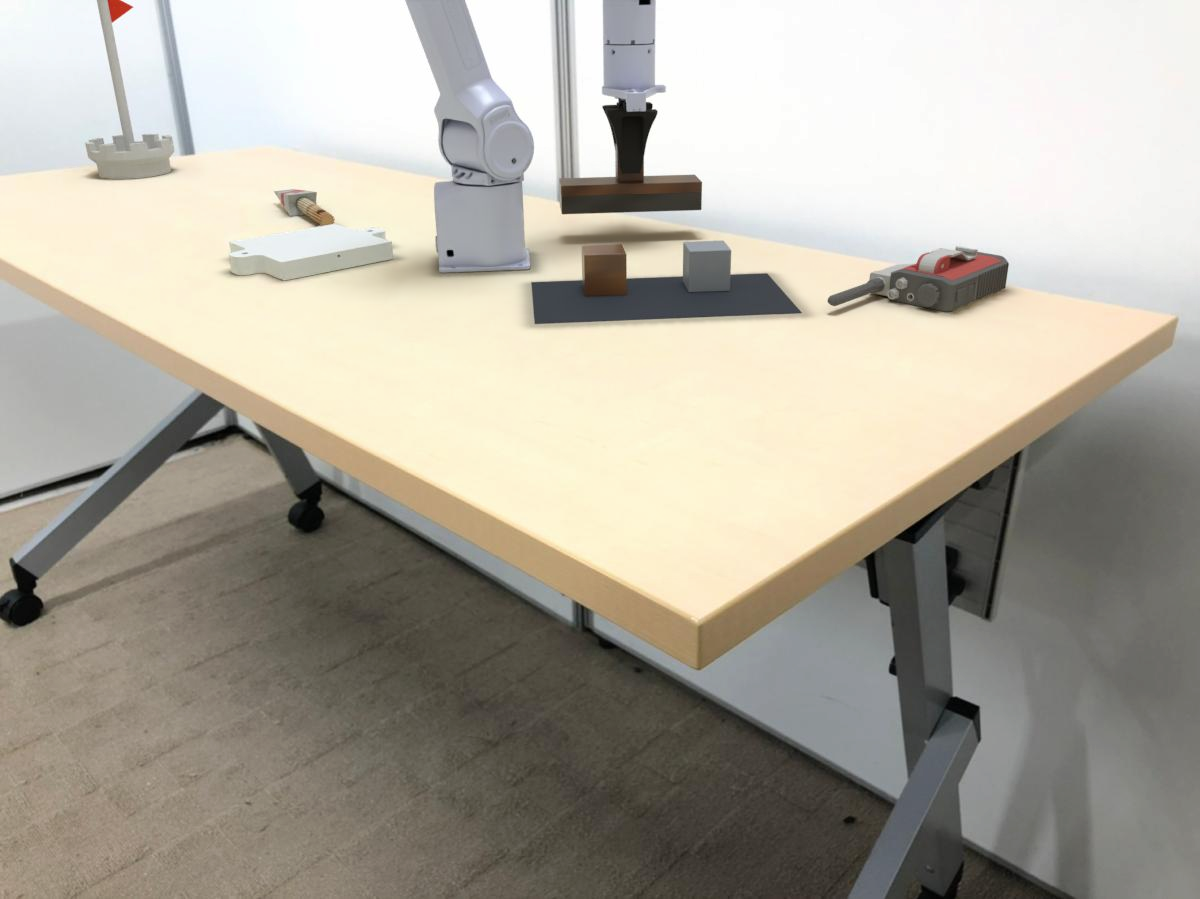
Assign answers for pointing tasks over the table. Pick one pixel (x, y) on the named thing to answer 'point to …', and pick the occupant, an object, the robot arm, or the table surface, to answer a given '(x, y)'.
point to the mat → (659, 300)
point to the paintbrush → (304, 205)
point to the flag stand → (126, 120)
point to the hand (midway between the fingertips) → (629, 170)
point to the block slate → (706, 266)
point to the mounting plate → (309, 251)
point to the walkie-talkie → (936, 280)
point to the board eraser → (630, 193)
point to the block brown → (604, 270)
